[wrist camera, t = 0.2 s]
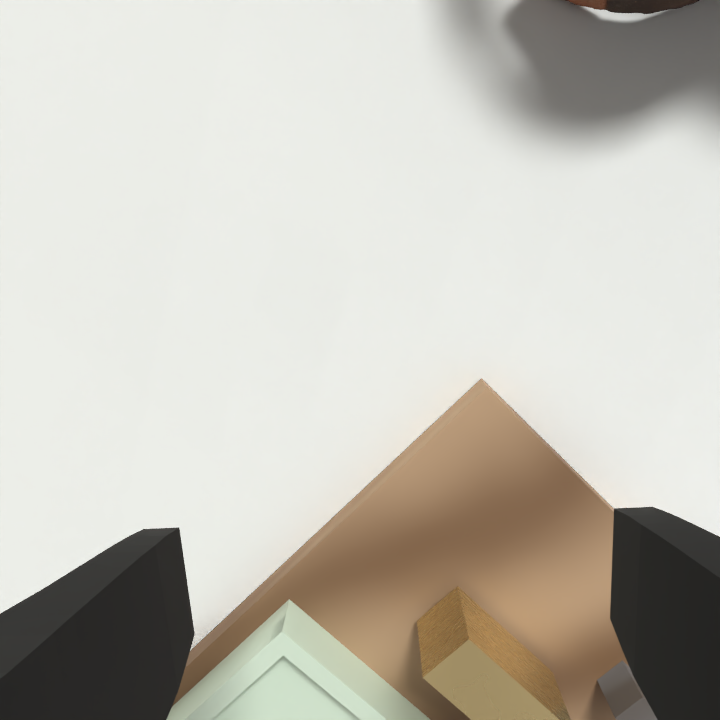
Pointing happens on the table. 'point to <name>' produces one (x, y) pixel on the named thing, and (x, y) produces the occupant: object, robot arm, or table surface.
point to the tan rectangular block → (484, 665)
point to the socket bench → (460, 564)
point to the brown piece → (633, 5)
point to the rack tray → (293, 679)
